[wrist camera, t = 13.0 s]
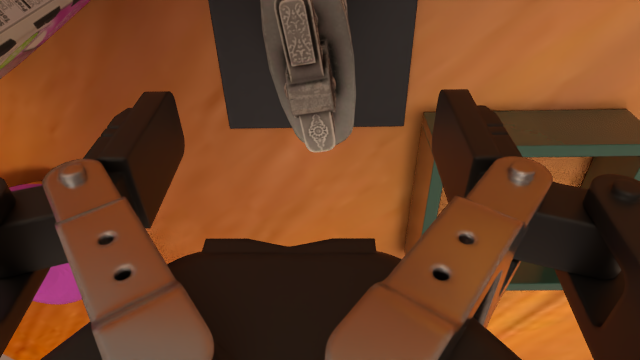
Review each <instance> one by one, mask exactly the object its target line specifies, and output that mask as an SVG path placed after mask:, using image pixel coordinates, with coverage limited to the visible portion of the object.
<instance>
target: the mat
mask: <svg viewBox="0 0 640 360" xmlns="http://www.w3.org/2000/svg"><path fill="white" fill-rule="evenodd" d="M208 1H209V7H210V13H211V19H212V25H213V31H214V37H215V43H216V49H217V55H218V61H219V67H220V73H221V78H222V84H223V90H224V96H225V102H226V108H227V114H228V120H229V126H230V129H233V128H292V126H291V124H290V122H289V120H288V118H287V116H286V113H285V111H284V109H283V107H282V105H281V102H280V99H279V96H278V93H277V90H276V88H275V85H274V82H273V79H272V76H271V73H270V70H269V64H268V59H267V53H266V48H265V42H264V37H263V31H262V18H261V2H260V0H208ZM346 3H347V15H348V21H349V26H350V33H351V42H352V47H353V53H354V67H355V85H356V100H355V114H354V126H353V127H376V126H404V118H405V109H406V100H407V91H408V82H409V73H410V64H411V55H412V46H413V37H414V28H415V19H416V10H417V0H346Z"/></svg>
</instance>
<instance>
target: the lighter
mask: <svg viewBox="0 0 640 360" xmlns="http://www.w3.org/2000/svg"><path fill="white" fill-rule="evenodd" d="M260 2H261V18H262V31H263V37H264V42H265V48H266V53H267V59H268V64H269V70H270V73H271V76H272V79H273V82H274V85H275V88H276V90H277V93H278V96H279V99H280V102H281V105H282V107H283V109H284V111H285V113H286V116H287V118H288V120H289V122H290V124H291V126H292V128H293V130H294V132H295V134H296V135H297V137H298V138H299V139H300V140H301V141H302V142H304V143H305V144H306V147H307V148H308V149H309V150H310V151H312V152H325V151H329V150H331V149H332V148H334V146H335V145H337V144H339V143H341V142H342V141H344V140H346V138H347V137H348V136H349V135H350V134H351V132H352V129H353V126H354V114H355V100H356V85H355V67H354V53H353V47H352V42H351V33H350V26H349V21H348V15H347V3H346V0H260Z"/></svg>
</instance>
